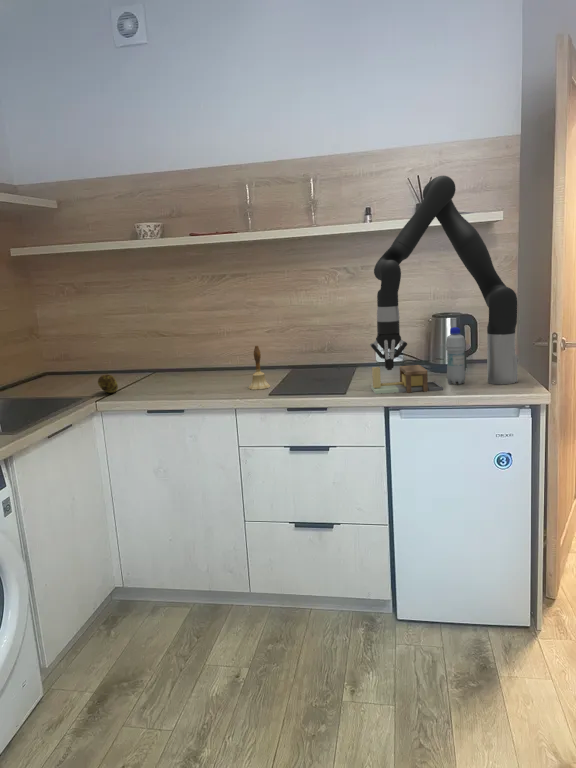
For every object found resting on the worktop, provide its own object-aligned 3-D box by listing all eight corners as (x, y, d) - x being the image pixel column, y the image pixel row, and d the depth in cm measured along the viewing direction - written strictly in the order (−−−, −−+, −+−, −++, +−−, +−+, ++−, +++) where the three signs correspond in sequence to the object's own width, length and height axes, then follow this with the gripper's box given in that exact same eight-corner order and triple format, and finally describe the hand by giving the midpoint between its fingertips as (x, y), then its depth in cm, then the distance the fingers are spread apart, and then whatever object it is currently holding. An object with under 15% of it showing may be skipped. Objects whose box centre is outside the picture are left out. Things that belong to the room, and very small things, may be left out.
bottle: (452, 386, 219) (451, 328, 216) (442, 382, 226) (441, 327, 222) (469, 384, 221) (469, 327, 217) (459, 380, 227) (458, 325, 224)
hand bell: (245, 387, 241) (242, 346, 238) (266, 384, 244) (263, 343, 241) (252, 391, 234) (249, 348, 231) (273, 388, 237) (270, 345, 234)
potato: (125, 389, 253) (123, 369, 251) (113, 396, 240) (111, 375, 239) (105, 390, 254) (103, 370, 252) (92, 397, 241) (90, 376, 240)
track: (422, 385, 223) (422, 382, 223) (427, 390, 215) (427, 386, 215) (371, 389, 223) (371, 385, 223) (375, 393, 215) (375, 390, 215)
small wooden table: (419, 384, 225) (419, 364, 224) (427, 391, 213) (427, 370, 212) (400, 386, 225) (399, 366, 224) (407, 393, 213) (406, 372, 212)
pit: (434, 384, 225) (434, 381, 224) (442, 390, 214) (442, 387, 214) (421, 385, 224) (421, 382, 224) (428, 391, 214) (428, 388, 214)
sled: (421, 382, 221) (421, 363, 220) (425, 385, 217) (424, 365, 215) (372, 385, 221) (371, 366, 220) (374, 388, 216) (373, 369, 215)
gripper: (405, 317, 218) (406, 366, 222) (367, 319, 218) (368, 368, 222) (409, 319, 211) (410, 370, 214) (370, 321, 211) (371, 372, 214)
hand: (389, 369), depth 218 cm, fingers closed
